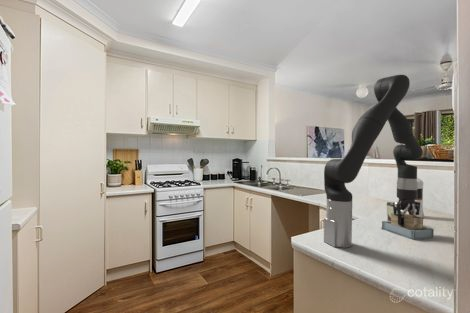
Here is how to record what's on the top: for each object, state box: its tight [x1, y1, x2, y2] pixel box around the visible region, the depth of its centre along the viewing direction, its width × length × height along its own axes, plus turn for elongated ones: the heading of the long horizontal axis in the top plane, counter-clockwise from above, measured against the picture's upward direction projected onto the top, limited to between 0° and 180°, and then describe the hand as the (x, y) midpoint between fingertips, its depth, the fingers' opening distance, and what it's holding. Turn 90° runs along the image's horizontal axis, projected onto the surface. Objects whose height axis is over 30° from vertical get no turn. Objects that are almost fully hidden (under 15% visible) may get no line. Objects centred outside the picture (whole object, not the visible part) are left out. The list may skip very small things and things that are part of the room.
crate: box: [381, 220, 435, 241], centre depth 102 cm, size 12×15×4 cm
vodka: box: [405, 165, 425, 219], centre depth 133 cm, size 9×9×30 cm
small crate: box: [391, 213, 424, 230], centre depth 102 cm, size 6×10×5 cm, turn 16°
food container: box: [386, 201, 402, 221], centre depth 118 cm, size 12×6×10 cm, turn 168°
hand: (406, 224), depth 102 cm, fingers closed on small crate, 6 cm apart
